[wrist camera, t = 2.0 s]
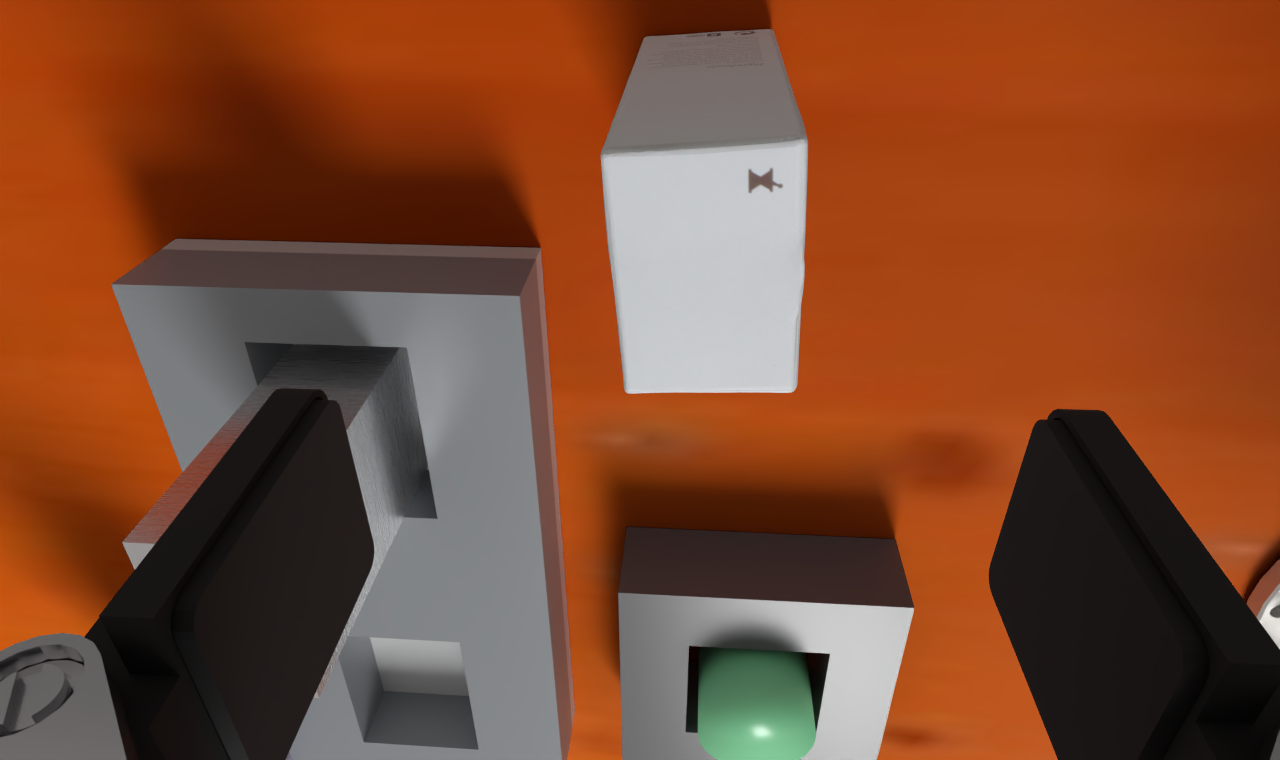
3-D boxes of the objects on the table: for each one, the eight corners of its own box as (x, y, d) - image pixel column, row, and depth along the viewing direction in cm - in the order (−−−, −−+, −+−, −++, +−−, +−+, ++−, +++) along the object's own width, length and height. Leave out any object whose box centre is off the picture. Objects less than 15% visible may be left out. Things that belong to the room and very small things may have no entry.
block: (411, 328, 31) (269, 549, 21) (433, 453, 35) (319, 698, 24) (310, 324, 32) (122, 541, 22) (341, 449, 35) (189, 690, 25)
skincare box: (639, 33, 26) (595, 141, 16) (774, 25, 26) (816, 130, 16) (651, 215, 29) (620, 400, 19) (771, 210, 29) (804, 397, 19)
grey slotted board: (540, 247, 30) (519, 296, 27) (574, 711, 45) (563, 780, 41) (175, 238, 31) (111, 284, 28) (324, 695, 46) (293, 762, 42)
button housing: (895, 539, 37) (914, 607, 33) (858, 710, 43) (871, 782, 40) (626, 526, 37) (618, 592, 34) (629, 696, 44) (622, 766, 40)
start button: (812, 624, 37) (822, 700, 34) (801, 695, 40) (809, 773, 36) (700, 618, 37) (699, 693, 34) (697, 689, 40) (696, 766, 37)
